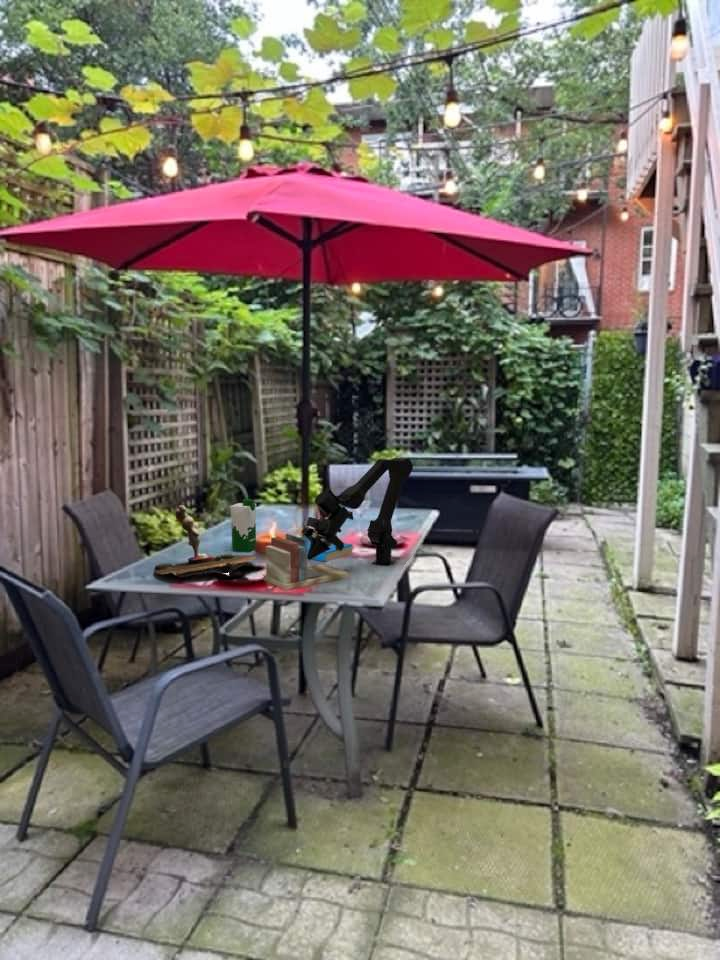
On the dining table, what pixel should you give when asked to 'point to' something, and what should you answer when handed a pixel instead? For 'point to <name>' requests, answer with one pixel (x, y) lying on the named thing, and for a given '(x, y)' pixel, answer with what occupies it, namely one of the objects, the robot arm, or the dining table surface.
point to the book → (330, 551)
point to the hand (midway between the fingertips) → (308, 559)
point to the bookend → (303, 543)
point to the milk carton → (243, 526)
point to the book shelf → (318, 568)
